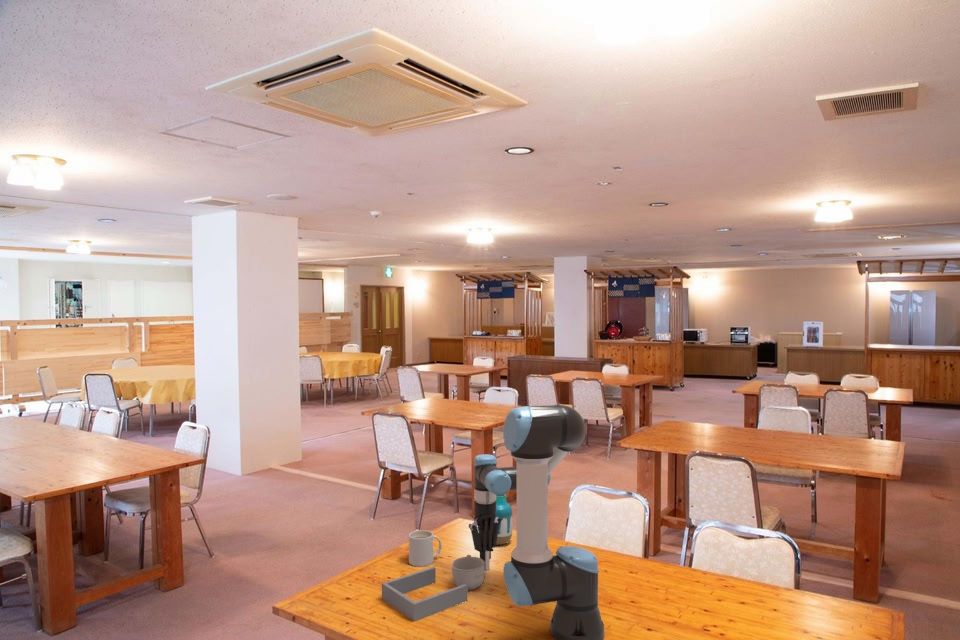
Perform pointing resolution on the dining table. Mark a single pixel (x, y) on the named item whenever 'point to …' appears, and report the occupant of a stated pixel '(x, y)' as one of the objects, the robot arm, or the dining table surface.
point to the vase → (504, 519)
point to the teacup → (468, 571)
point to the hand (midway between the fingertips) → (485, 569)
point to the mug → (422, 548)
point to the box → (426, 606)
